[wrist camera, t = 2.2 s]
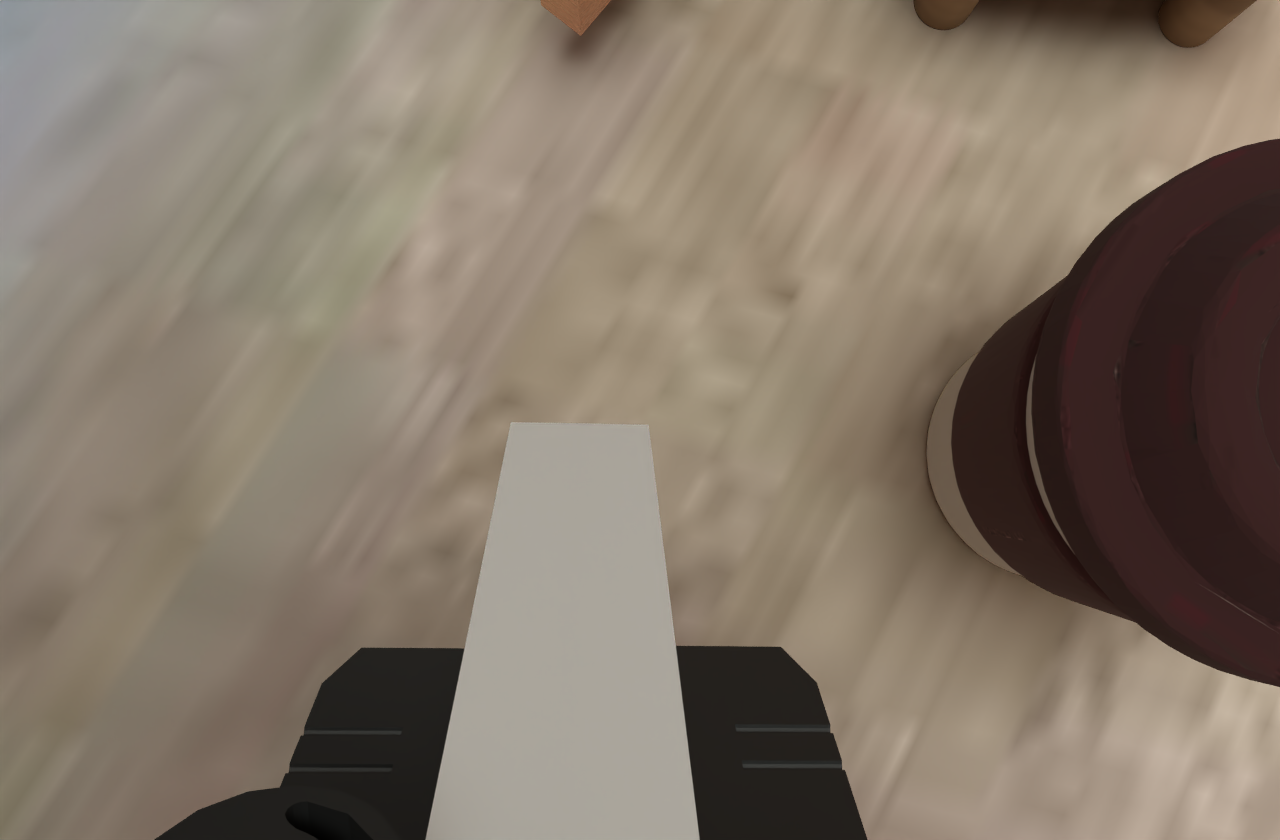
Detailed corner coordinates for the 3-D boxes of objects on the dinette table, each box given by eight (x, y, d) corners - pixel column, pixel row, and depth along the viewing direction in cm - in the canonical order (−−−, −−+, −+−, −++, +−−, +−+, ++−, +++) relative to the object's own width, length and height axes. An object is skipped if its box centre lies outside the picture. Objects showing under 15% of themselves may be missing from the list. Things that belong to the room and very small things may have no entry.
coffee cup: (954, 238, 33) (1235, 2, 18) (1257, 373, 33) (1794, 249, 18) (823, 539, 32) (1006, 553, 17) (1134, 680, 32) (1593, 819, 17)
